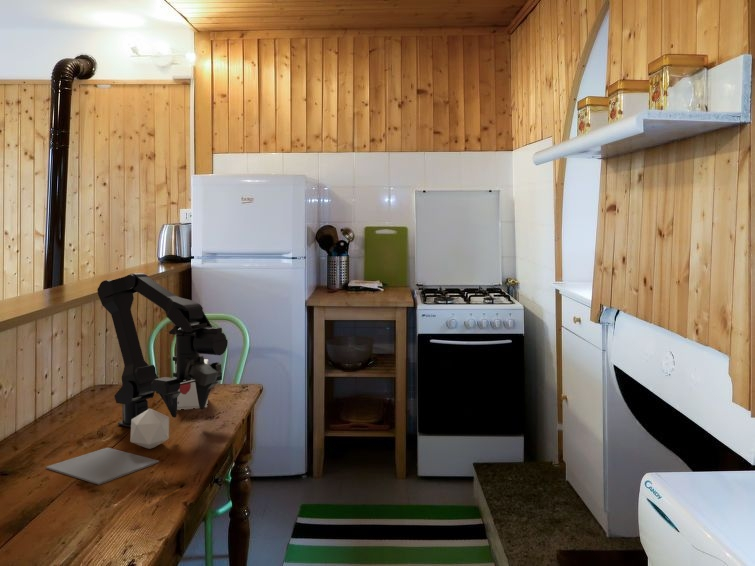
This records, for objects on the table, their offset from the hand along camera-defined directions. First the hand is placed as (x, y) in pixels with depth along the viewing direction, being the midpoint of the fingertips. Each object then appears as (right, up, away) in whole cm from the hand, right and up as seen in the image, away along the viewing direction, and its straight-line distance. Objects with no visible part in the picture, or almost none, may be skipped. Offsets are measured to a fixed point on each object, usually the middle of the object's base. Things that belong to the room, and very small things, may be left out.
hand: (188, 413), depth 152 cm
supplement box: (-6, -5, +24) cm, 25 cm away
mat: (-12, -7, -21) cm, 25 cm away
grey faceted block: (-6, -7, -10) cm, 13 cm away
